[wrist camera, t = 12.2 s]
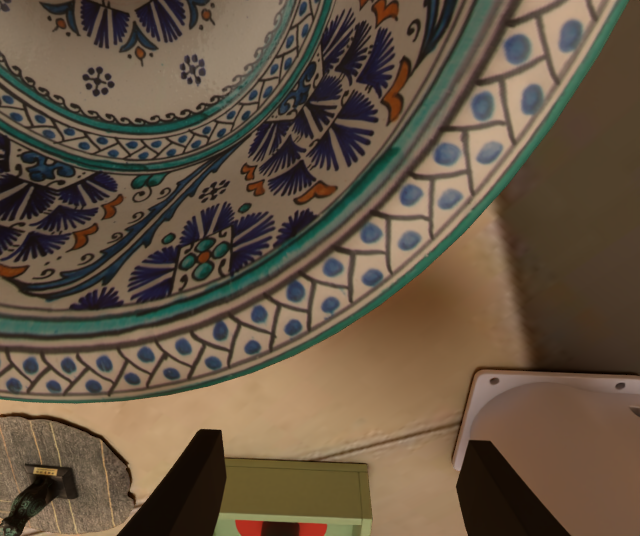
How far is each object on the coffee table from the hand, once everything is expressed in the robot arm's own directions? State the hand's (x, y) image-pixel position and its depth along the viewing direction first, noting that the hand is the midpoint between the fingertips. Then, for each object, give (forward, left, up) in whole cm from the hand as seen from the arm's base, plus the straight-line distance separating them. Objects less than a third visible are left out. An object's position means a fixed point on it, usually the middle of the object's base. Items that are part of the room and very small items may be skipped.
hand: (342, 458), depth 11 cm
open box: (+3, +18, -9) cm, 20 cm away
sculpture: (+19, +15, -9) cm, 26 cm away
